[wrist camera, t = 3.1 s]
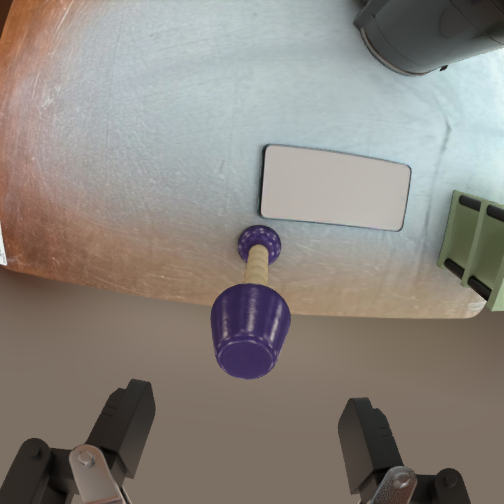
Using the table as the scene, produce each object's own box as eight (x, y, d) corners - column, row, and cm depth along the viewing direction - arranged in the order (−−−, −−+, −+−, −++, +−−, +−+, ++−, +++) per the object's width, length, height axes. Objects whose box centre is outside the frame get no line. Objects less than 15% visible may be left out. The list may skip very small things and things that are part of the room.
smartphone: (262, 143, 25) (412, 165, 25) (262, 143, 25) (410, 165, 25) (256, 218, 27) (401, 232, 27) (256, 216, 28) (399, 231, 28)
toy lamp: (257, 277, 30) (252, 404, 14) (222, 248, 29) (181, 360, 13) (289, 244, 29) (319, 355, 13) (254, 213, 28) (245, 299, 12)
